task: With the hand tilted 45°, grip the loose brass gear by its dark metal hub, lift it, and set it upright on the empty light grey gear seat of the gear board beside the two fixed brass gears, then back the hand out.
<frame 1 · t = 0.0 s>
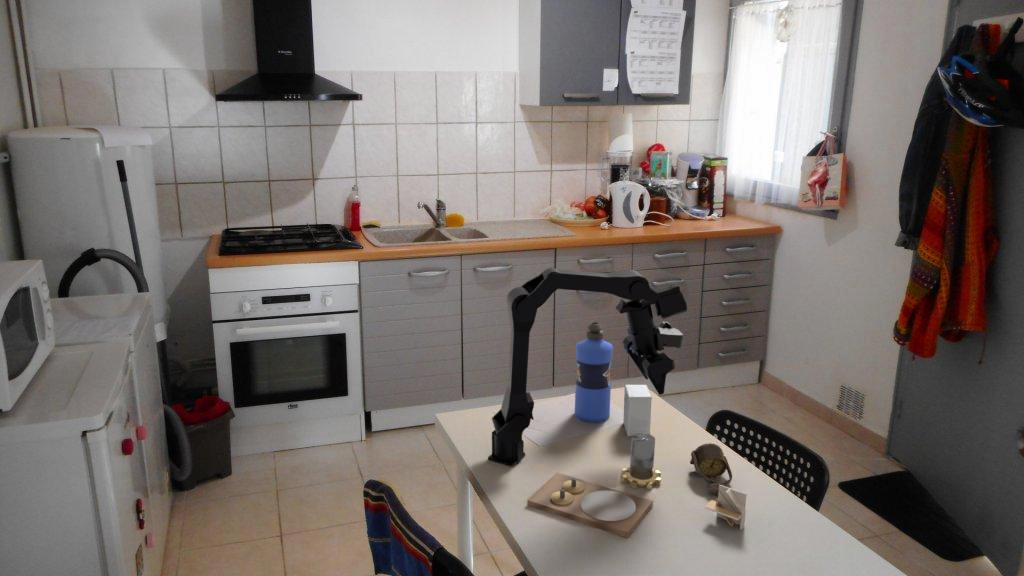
hand: (654, 386, 174), 15 cm above the table, fingers open, 9 cm apart
gear board: (589, 505, 154), on the table
small box: (636, 430, 187), on the table
architectural model: (728, 526, 148), on the table
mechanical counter: (709, 482, 164), on the table
water bottle: (592, 415, 195), on the table
loose gear: (641, 478, 164), on the table
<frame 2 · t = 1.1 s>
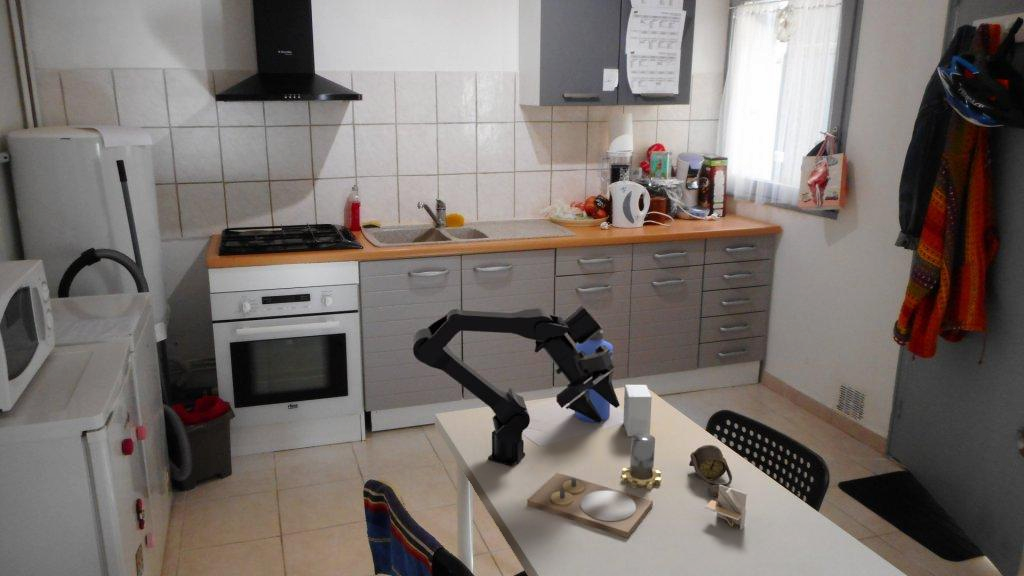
hand: (609, 414, 165), 13 cm above the table, fingers open, 9 cm apart
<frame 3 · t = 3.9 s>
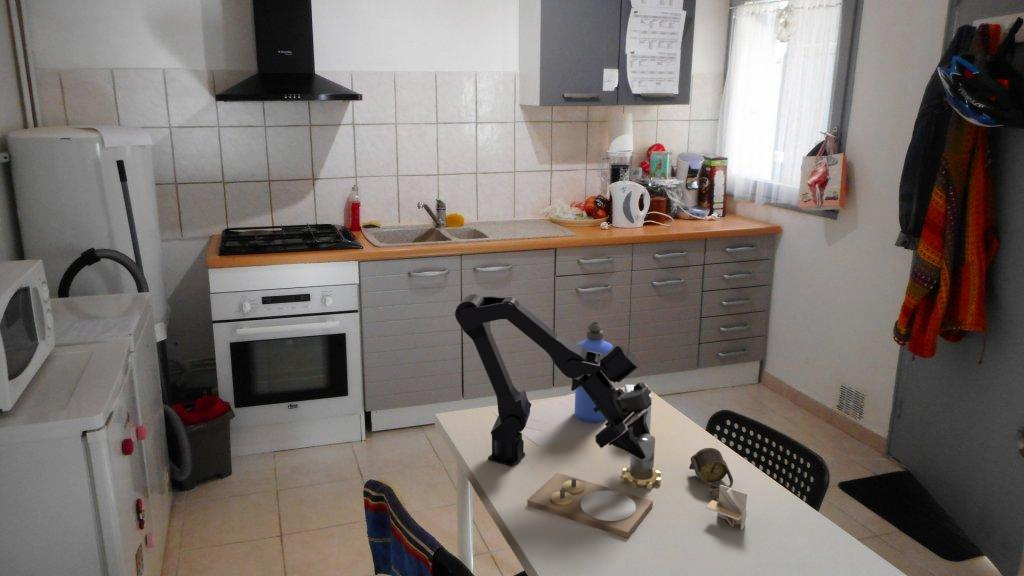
hand: (648, 453, 162), 7 cm above the table, fingers closed on loose gear, 5 cm apart
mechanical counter: (710, 487, 162), on the table
loose gear: (641, 478, 164), on the table, touching gripper
everything else where it was.
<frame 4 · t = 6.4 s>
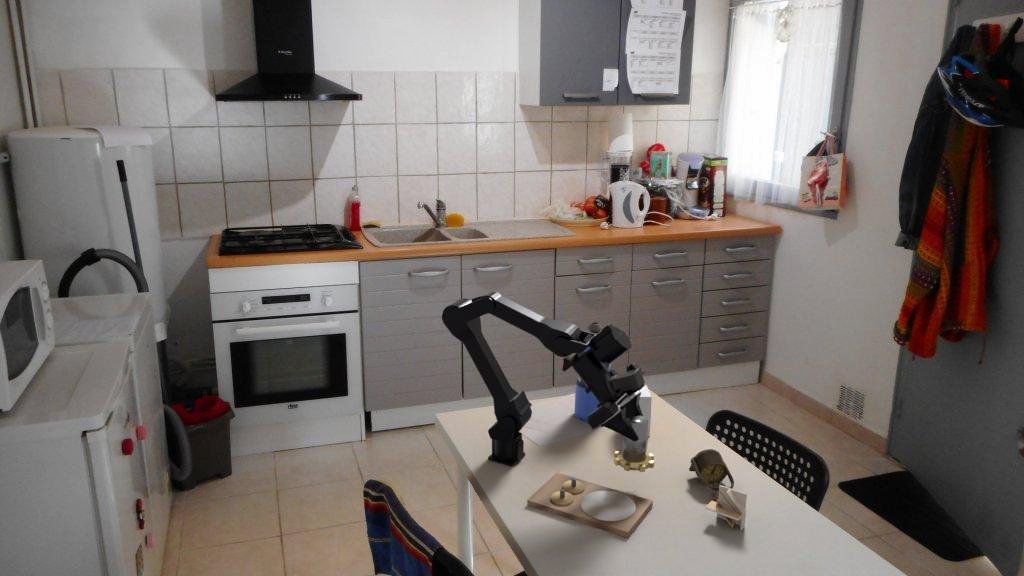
hand: (641, 435, 157), 12 cm above the table, fingers closed on loose gear, 5 cm apart
loose gear: (633, 462, 160), point 6 cm above the table, touching gripper
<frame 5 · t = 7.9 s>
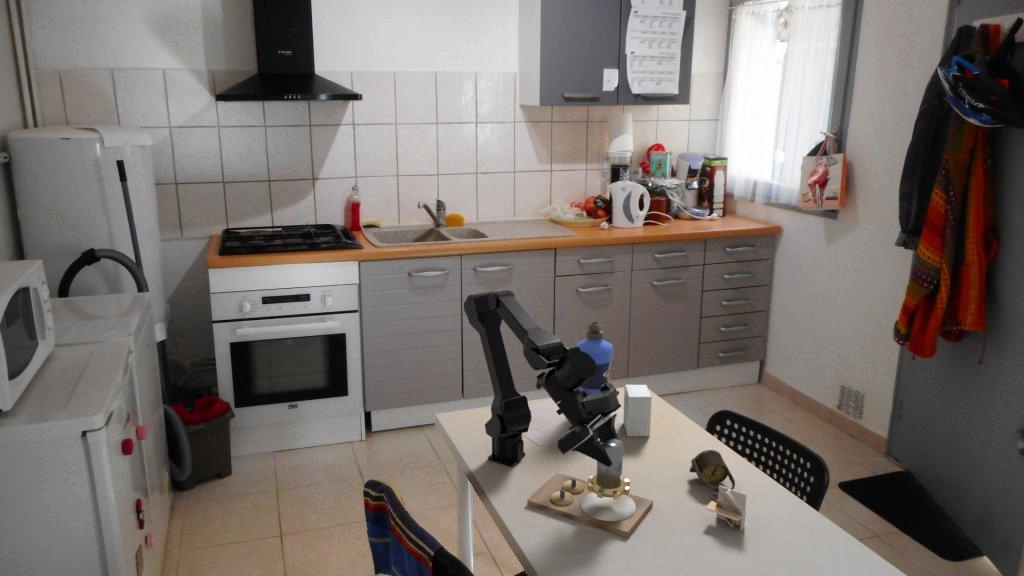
hand: (616, 459, 148), 12 cm above the table, fingers closed on loose gear, 5 cm apart
loose gear: (608, 487, 151), point 5 cm above the table, touching gripper
when the fingers open (9 cm above the table, at t = 8.8 s): loose gear stays where it is, resting on gear board.
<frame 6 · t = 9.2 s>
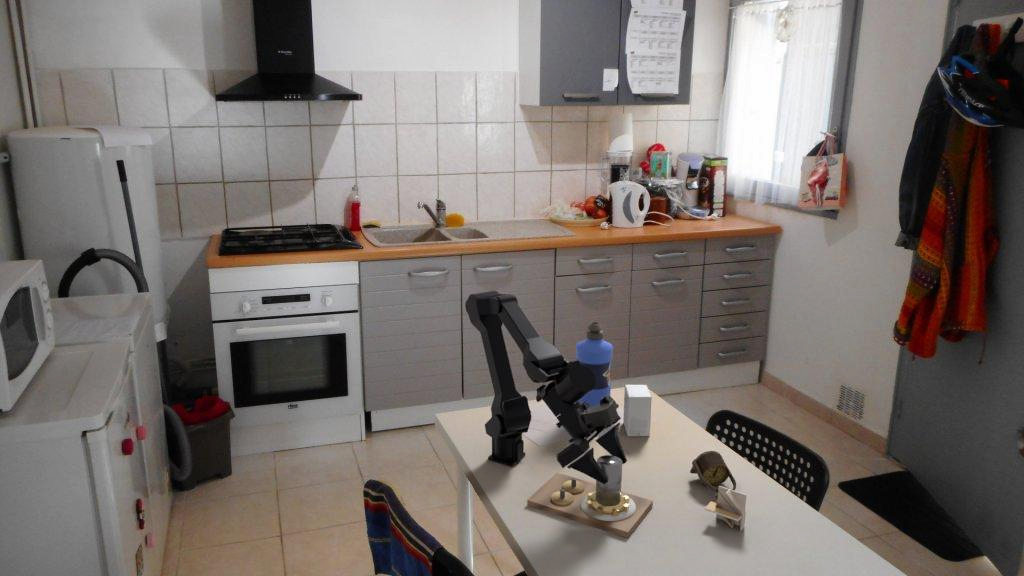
hand: (616, 472, 149), 9 cm above the table, fingers open, 9 cm apart
loose gear: (607, 504, 152), point 1 cm above the table, touching gear board
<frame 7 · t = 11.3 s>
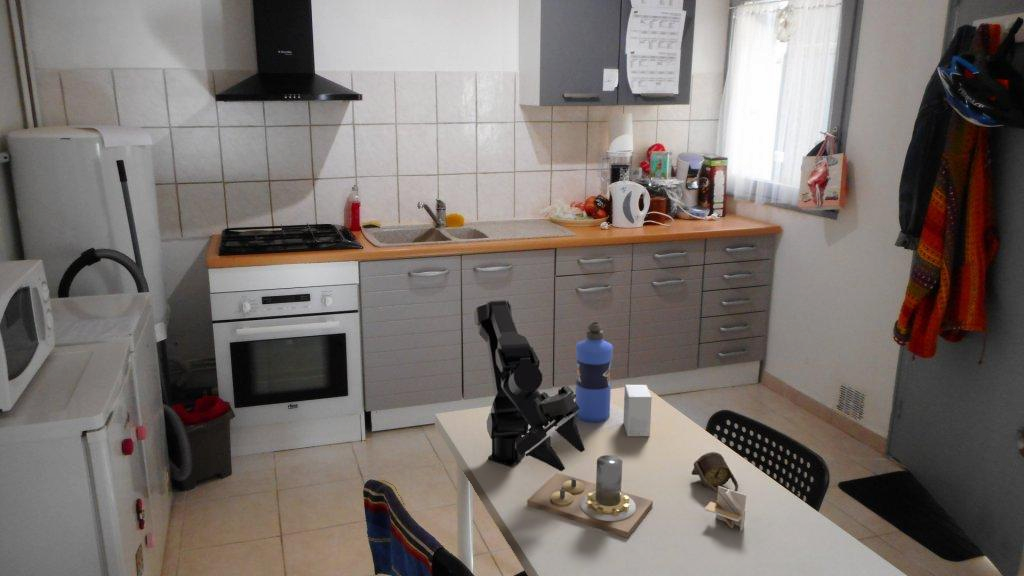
hand: (573, 460, 153), 9 cm above the table, fingers open, 9 cm apart
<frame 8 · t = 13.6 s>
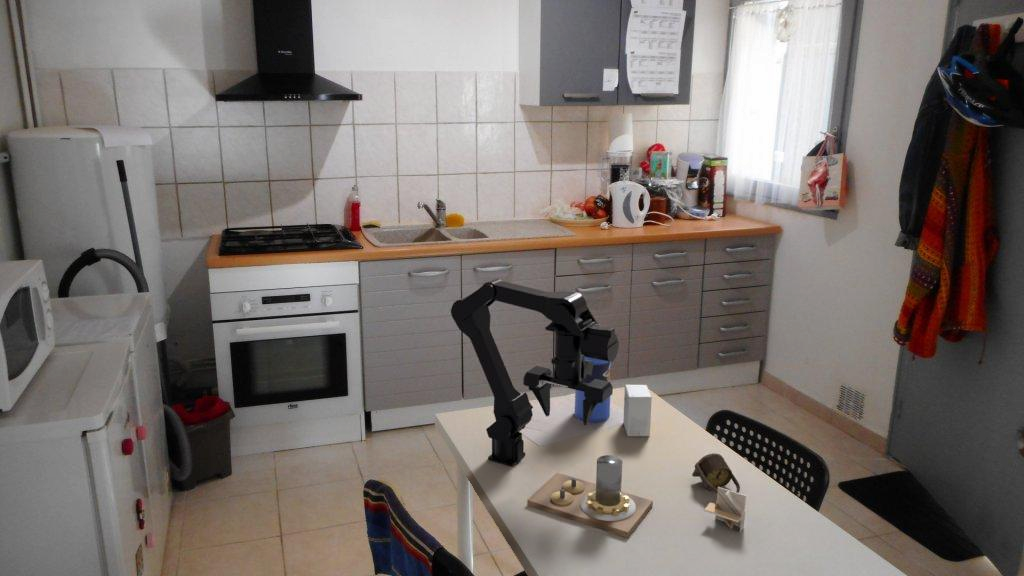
hand: (566, 420, 162), 13 cm above the table, fingers open, 9 cm apart
at the end: loose gear inside the target area on the gear board (0.1 cm from its centre), point 1.4 cm above the gear board's base; loose gear tilted 0°; the gripper is holding nothing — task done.
